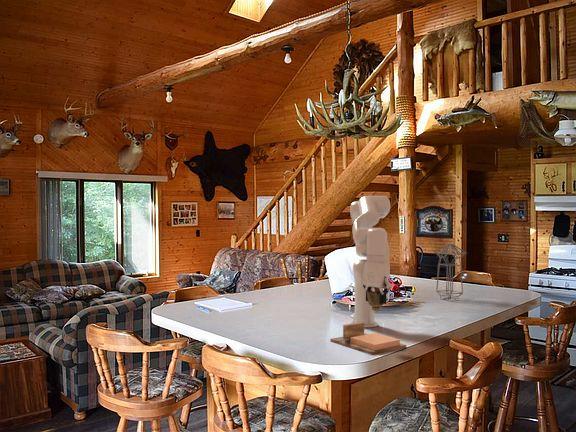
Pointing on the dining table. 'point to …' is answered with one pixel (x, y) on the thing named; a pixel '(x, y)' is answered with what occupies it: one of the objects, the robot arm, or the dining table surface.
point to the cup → (374, 299)
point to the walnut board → (342, 342)
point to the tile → (375, 341)
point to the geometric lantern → (450, 268)
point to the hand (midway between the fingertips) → (375, 302)
